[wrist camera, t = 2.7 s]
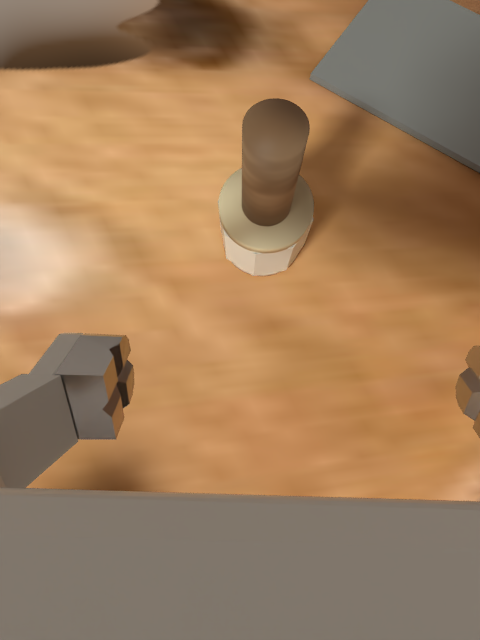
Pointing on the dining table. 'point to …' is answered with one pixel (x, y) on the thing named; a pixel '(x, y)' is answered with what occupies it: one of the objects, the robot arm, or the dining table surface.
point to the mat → (413, 71)
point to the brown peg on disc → (269, 180)
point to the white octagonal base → (261, 256)
